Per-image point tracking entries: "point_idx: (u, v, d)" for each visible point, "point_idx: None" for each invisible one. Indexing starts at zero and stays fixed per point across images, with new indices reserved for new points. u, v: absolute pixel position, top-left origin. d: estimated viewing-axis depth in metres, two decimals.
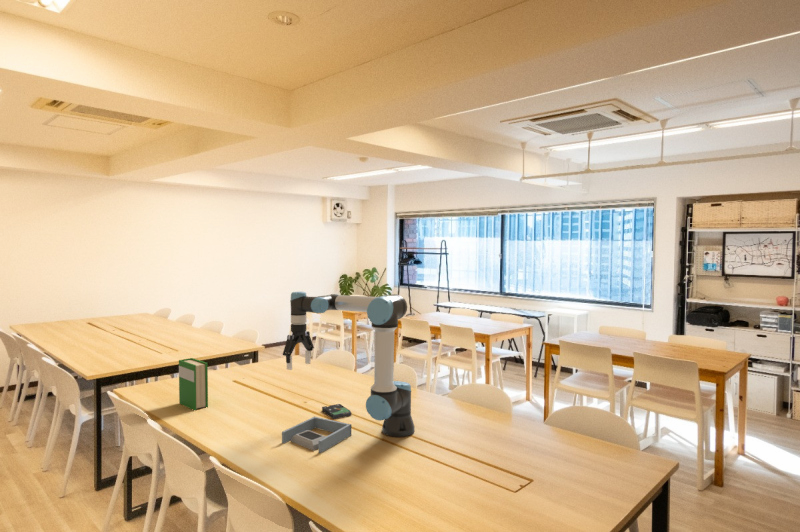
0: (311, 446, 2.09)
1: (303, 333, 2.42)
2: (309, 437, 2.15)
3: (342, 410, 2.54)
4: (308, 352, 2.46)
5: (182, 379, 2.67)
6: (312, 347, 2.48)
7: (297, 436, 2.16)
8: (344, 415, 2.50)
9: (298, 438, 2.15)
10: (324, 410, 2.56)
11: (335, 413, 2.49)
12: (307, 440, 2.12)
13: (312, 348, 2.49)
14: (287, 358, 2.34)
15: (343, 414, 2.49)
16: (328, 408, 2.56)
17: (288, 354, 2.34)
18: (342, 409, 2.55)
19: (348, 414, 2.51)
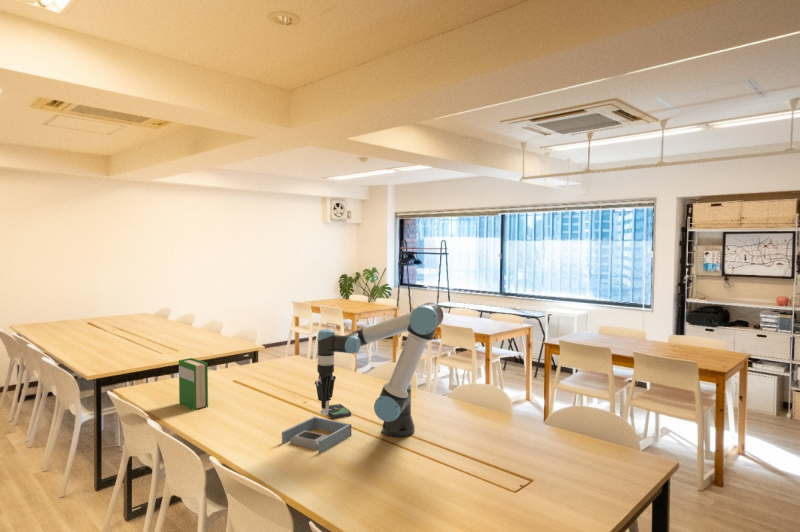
0: (315, 446, 2.10)
1: (331, 373, 2.27)
2: (310, 437, 2.15)
3: (342, 410, 2.54)
4: None
5: (182, 379, 2.67)
6: (331, 395, 2.28)
7: (297, 437, 2.15)
8: (344, 415, 2.50)
9: (298, 439, 2.14)
10: None
11: (335, 413, 2.49)
12: (309, 440, 2.12)
13: (330, 397, 2.28)
14: (323, 403, 2.24)
15: (343, 414, 2.49)
16: None
17: (324, 400, 2.24)
18: (342, 409, 2.55)
19: (348, 414, 2.51)
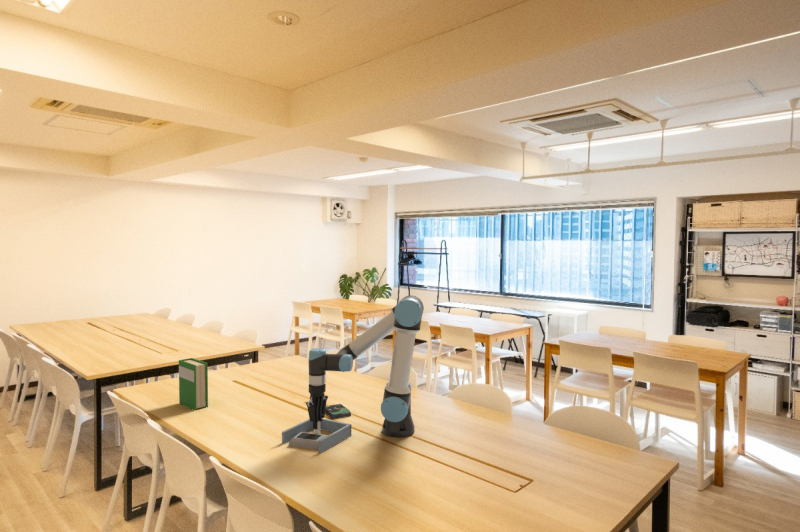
0: (317, 446, 2.09)
1: (323, 393, 2.22)
2: (309, 438, 2.14)
3: (342, 410, 2.54)
4: None
5: (182, 379, 2.67)
6: (323, 416, 2.23)
7: (296, 439, 2.13)
8: (343, 415, 2.50)
9: (298, 441, 2.12)
10: None
11: (334, 413, 2.49)
12: (311, 441, 2.11)
13: (322, 417, 2.23)
14: (314, 424, 2.19)
15: (342, 414, 2.49)
16: (328, 408, 2.57)
17: (315, 421, 2.19)
18: (342, 409, 2.55)
19: (347, 414, 2.51)
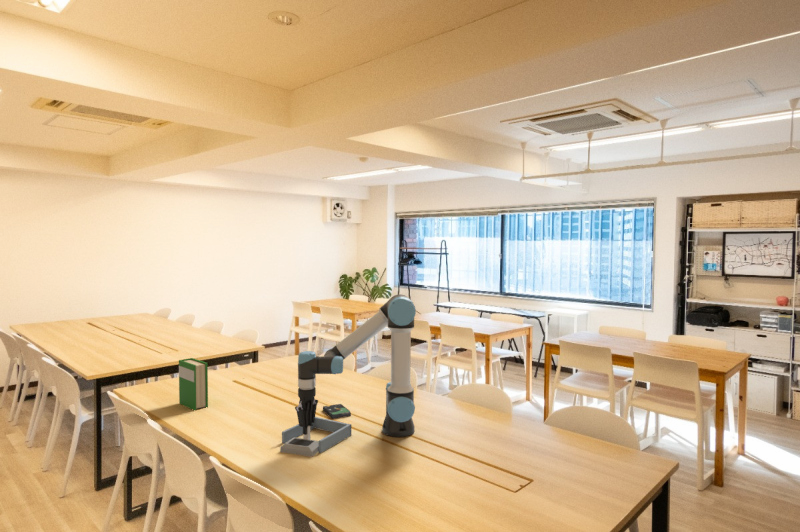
0: (309, 452, 2.03)
1: (313, 397, 2.16)
2: (301, 444, 2.08)
3: (342, 410, 2.54)
4: None
5: (182, 379, 2.67)
6: (313, 420, 2.16)
7: (288, 445, 2.07)
8: (343, 415, 2.50)
9: (290, 447, 2.06)
10: (324, 410, 2.57)
11: (334, 413, 2.49)
12: (302, 447, 2.05)
13: (312, 422, 2.16)
14: (304, 429, 2.13)
15: (342, 414, 2.49)
16: (328, 408, 2.57)
17: (305, 426, 2.13)
18: (342, 409, 2.55)
19: (347, 414, 2.51)
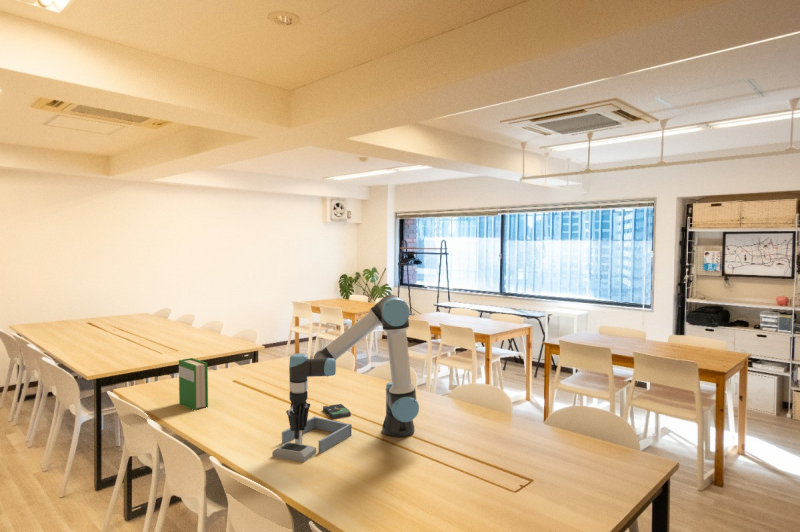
0: (301, 458, 1.98)
1: (304, 400, 2.11)
2: (294, 449, 2.03)
3: (342, 410, 2.54)
4: None
5: (182, 379, 2.67)
6: (305, 425, 2.12)
7: (280, 450, 2.02)
8: (343, 415, 2.50)
9: (282, 452, 2.01)
10: (324, 410, 2.57)
11: (334, 413, 2.49)
12: (295, 452, 2.00)
13: (304, 426, 2.11)
14: (296, 434, 2.08)
15: (342, 414, 2.49)
16: (328, 408, 2.57)
17: (297, 430, 2.08)
18: (342, 409, 2.55)
19: (347, 414, 2.51)
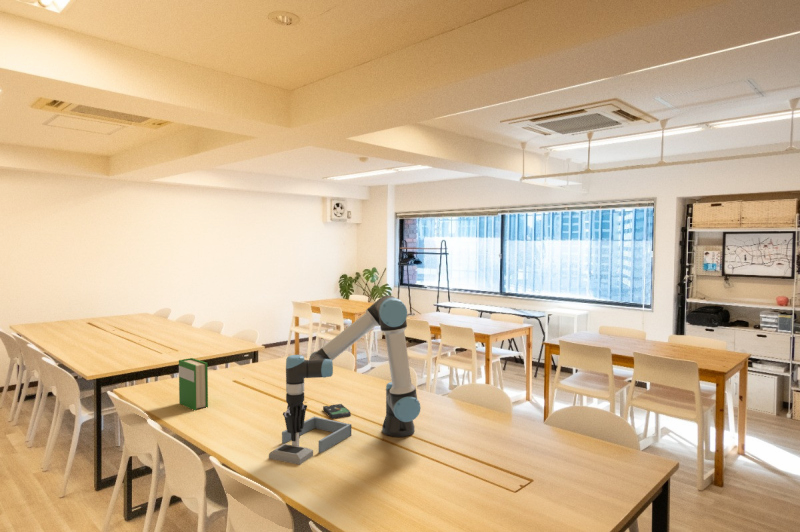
0: (297, 460, 1.95)
1: (301, 402, 2.09)
2: (290, 451, 2.01)
3: (342, 410, 2.54)
4: None
5: (182, 379, 2.67)
6: (301, 426, 2.10)
7: (276, 452, 2.00)
8: (343, 415, 2.50)
9: (278, 454, 1.99)
10: (324, 410, 2.57)
11: (334, 413, 2.49)
12: (291, 454, 1.97)
13: (301, 428, 2.09)
14: (292, 436, 2.06)
15: (342, 414, 2.49)
16: (328, 408, 2.57)
17: None
18: (342, 409, 2.55)
19: (347, 414, 2.51)
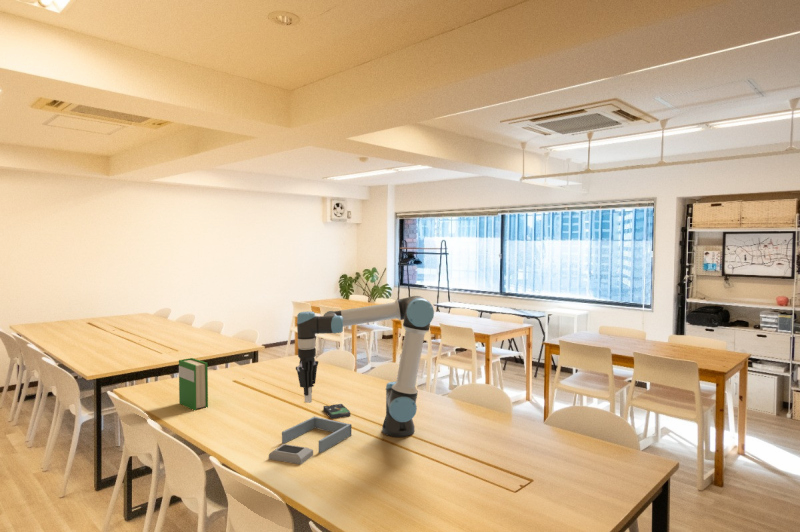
0: (298, 460, 1.95)
1: (313, 357, 2.14)
2: (290, 451, 2.01)
3: (342, 410, 2.54)
4: None
5: (182, 379, 2.67)
6: (313, 382, 2.14)
7: (276, 452, 2.00)
8: (342, 415, 2.49)
9: (278, 454, 1.99)
10: (325, 409, 2.57)
11: (334, 413, 2.49)
12: (291, 454, 1.97)
13: (313, 383, 2.14)
14: (305, 390, 2.11)
15: (341, 414, 2.49)
16: (329, 408, 2.57)
17: (306, 386, 2.10)
18: (342, 409, 2.55)
19: (347, 414, 2.50)
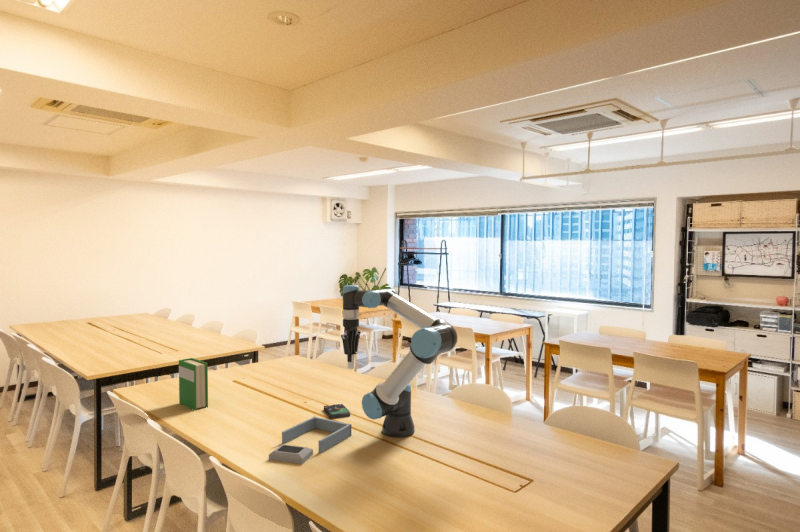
0: (299, 460, 1.96)
1: (356, 327, 2.32)
2: (291, 451, 2.01)
3: (342, 410, 2.54)
4: None
5: (182, 379, 2.67)
6: (356, 350, 2.32)
7: (277, 452, 1.99)
8: (342, 415, 2.49)
9: (279, 454, 1.99)
10: (325, 409, 2.58)
11: (333, 413, 2.49)
12: (292, 454, 1.97)
13: (355, 351, 2.32)
14: (348, 357, 2.29)
15: (341, 414, 2.49)
16: (329, 407, 2.57)
17: (349, 354, 2.28)
18: (342, 409, 2.55)
19: (346, 414, 2.50)
